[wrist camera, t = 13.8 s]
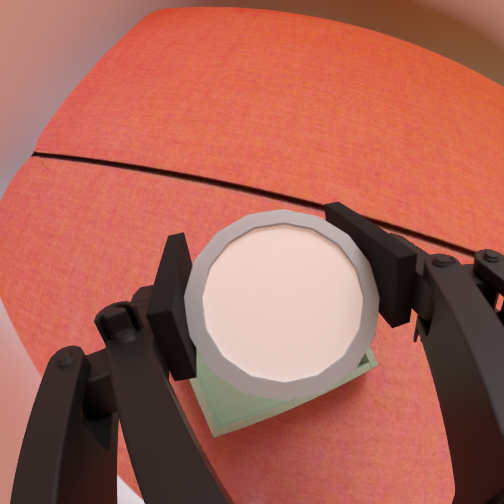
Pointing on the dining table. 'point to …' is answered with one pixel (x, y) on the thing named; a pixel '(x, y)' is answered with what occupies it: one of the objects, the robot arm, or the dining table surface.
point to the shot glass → (281, 304)
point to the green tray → (249, 398)
